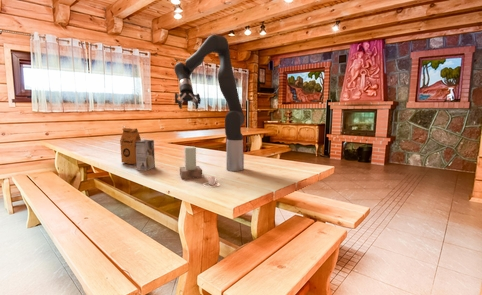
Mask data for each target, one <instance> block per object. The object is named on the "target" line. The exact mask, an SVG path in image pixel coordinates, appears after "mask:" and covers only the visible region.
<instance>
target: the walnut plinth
mask: <svg viewBox="0 0 482 295" xmlns="http://www.w3.org/2000/svg"><path fill="white" fill-rule="evenodd" d="M179 175H180V178H181V180H192V179H193V180H195V179H203V169H202V168H201V167H200V166H199V165H196V169H195V170H186V169H185V166H180V167H179Z"/></svg>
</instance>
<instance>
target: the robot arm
mask: <svg viewBox="0 0 482 295" xmlns="http://www.w3.org/2000/svg"><path fill="white" fill-rule="evenodd" d="M212 53H213V54H217V55H218V59H219V69H218V72H217V73H218V74H217V81H218V85H219V90H220V92H221V95H223V98H224V100H225V101H226V103H227V106H228V112H227V113H226V115H225V117H224V132H225V133H224V134H225V137H226V157H225V158H226V159H225V160H226V165H225V166H226V168H225V169H226V171H229V172H230V171H231V172H239V171H243V170H244V167H245V155H244V144H243V142H244V136H243V133H242V128H241V127H242V126H243V125H244V123H245V121H246V118H245V114H244V111H243V108H242V106H241V102H240V96H239V91H238V87H237V82H236V78H235V75H234V71H233V65H232V60H231V54H230V46H229V41H228V40H227V38H226V37H225V36H223V35H219V34H210V35H209V36H208V37H207V38H206V39H205V40H204V42H203V43H202V44H201V45H200V47H199V48H198V49H197V50H196V51H195V52H194V53H193V54H192V55H191V56H189V57H188V58H186V60H185V64H184V63H183V62H180V61H179V62H176V64H175V66H174V73H175V76H176V77H177V79H178V87H179V94H178V93H177V92H175V93H174V104H177V105H178V108H180V110H181V109H182V108H183V103H184V102H191V103H192V104H194V106H195V110H198V108H199V105H200V104H201V101H202V100H201V96H200V94H199V93H197V94H195V92H194V90H193V89H194V87H193V84H192V79H191V75H192V74H193V72H194V71H195V69H197V68H198V67H200V66H201V65H202V64H203V62H204V60H205V57H206V56H208V55H209V54H212Z"/></svg>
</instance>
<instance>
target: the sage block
mask: <svg viewBox="0 0 482 295" xmlns="http://www.w3.org/2000/svg"><path fill="white" fill-rule="evenodd" d="M196 166H197V147H195V146H184V167H185V169H186V170H195V169H196Z"/></svg>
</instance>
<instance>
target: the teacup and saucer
mask: <svg viewBox="0 0 482 295" xmlns="http://www.w3.org/2000/svg"><path fill="white" fill-rule="evenodd" d="M207 178H208V181H207V182H204V183H202V186H204V187H207V188H215V187H219V186H220V185H221V183H220V182H218V180H217V179H216V176H214V175H209V176H207ZM206 184H209V185H206ZM215 184H217V185H215Z"/></svg>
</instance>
